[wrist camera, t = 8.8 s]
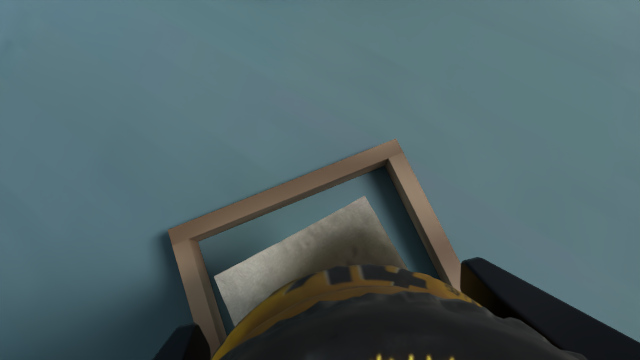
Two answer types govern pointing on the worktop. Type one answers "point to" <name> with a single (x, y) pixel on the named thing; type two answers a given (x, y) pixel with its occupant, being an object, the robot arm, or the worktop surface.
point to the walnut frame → (293, 191)
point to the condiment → (359, 303)
